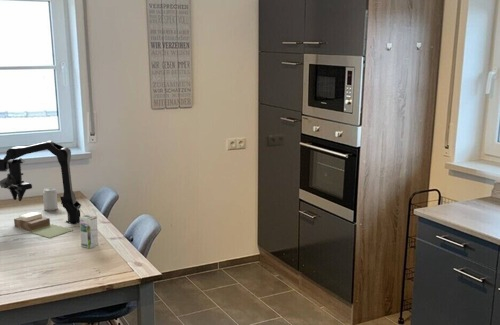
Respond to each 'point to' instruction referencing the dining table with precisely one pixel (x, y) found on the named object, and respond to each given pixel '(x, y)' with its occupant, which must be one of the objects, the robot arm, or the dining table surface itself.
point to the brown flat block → (32, 223)
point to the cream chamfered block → (30, 216)
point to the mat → (50, 231)
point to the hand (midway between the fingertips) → (17, 200)
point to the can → (50, 199)
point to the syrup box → (88, 231)
